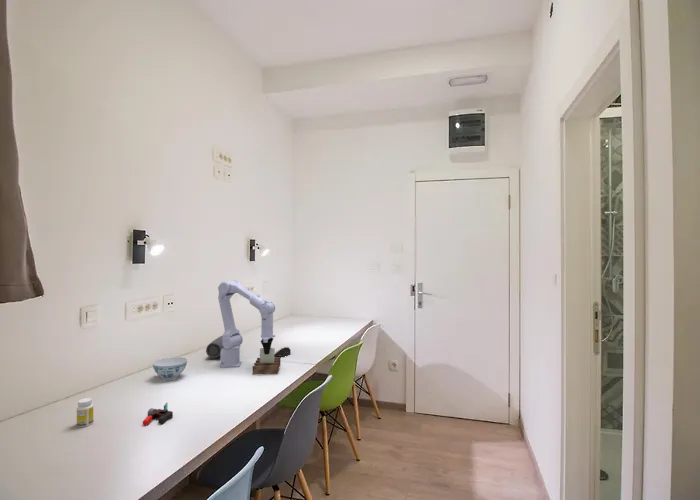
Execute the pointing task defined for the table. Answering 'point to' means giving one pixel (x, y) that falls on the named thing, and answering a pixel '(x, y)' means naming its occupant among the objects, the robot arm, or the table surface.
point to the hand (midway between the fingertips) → (267, 353)
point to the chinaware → (169, 367)
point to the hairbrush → (283, 352)
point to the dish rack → (266, 367)
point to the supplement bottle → (84, 412)
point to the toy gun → (158, 415)
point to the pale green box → (267, 356)
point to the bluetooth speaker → (215, 348)
